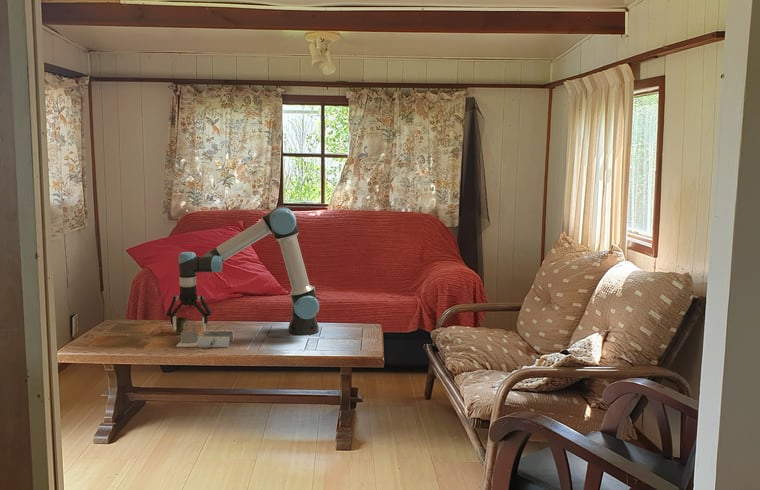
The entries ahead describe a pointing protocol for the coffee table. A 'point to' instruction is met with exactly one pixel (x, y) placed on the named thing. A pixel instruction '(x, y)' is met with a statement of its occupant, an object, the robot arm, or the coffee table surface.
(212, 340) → the vise
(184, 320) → the cup
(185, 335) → the padlock
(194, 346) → the pad
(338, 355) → the coffee table surface
